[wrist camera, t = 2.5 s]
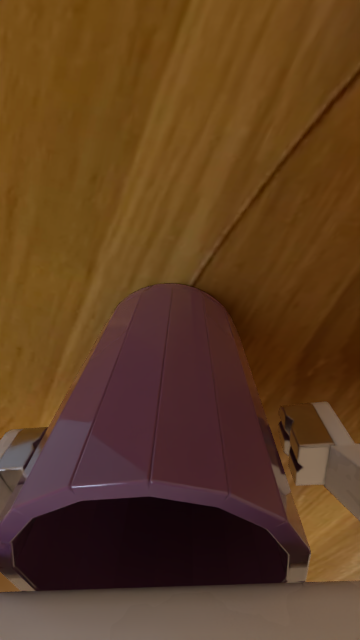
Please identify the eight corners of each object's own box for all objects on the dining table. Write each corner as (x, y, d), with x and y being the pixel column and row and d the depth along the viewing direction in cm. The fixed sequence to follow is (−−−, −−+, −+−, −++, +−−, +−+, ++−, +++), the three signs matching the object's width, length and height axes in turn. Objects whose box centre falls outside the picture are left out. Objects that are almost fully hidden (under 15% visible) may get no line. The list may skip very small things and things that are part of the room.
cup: (88, 293, 12) (-83, 497, 5) (233, 273, 12) (327, 469, 4) (124, 398, 16) (59, 628, 8) (239, 387, 15) (299, 624, 7)
